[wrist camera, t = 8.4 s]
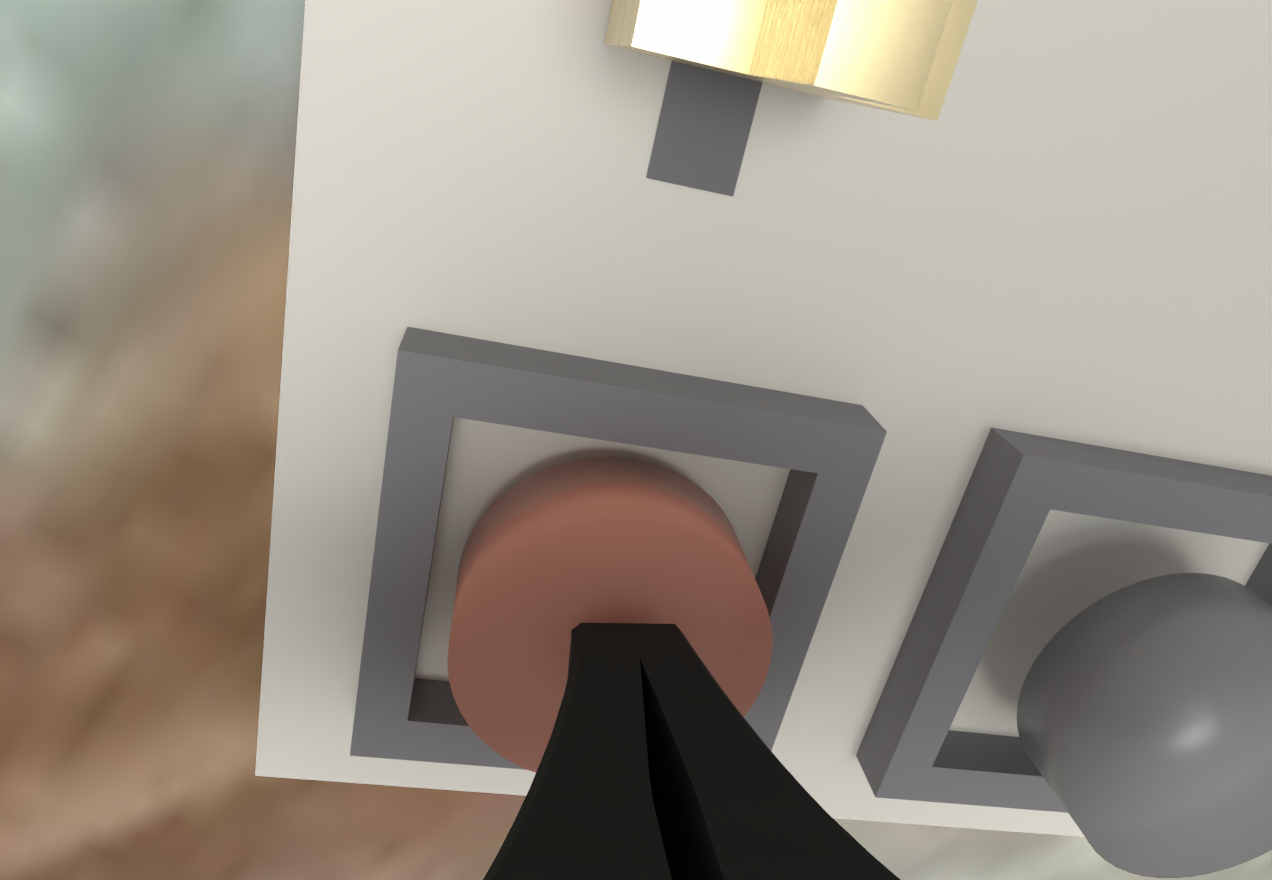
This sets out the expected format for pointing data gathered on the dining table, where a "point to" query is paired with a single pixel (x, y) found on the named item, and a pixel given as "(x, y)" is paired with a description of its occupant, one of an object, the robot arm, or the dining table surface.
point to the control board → (772, 364)
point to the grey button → (1160, 724)
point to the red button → (595, 591)
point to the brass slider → (810, 44)
